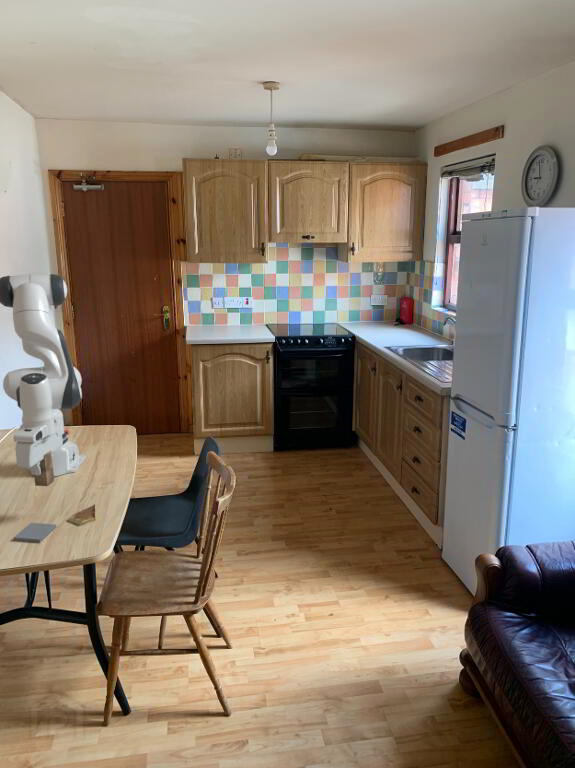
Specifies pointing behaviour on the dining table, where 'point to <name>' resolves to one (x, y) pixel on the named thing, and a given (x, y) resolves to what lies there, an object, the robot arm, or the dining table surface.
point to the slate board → (35, 532)
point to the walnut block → (45, 471)
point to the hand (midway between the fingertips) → (43, 470)
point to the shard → (84, 516)
